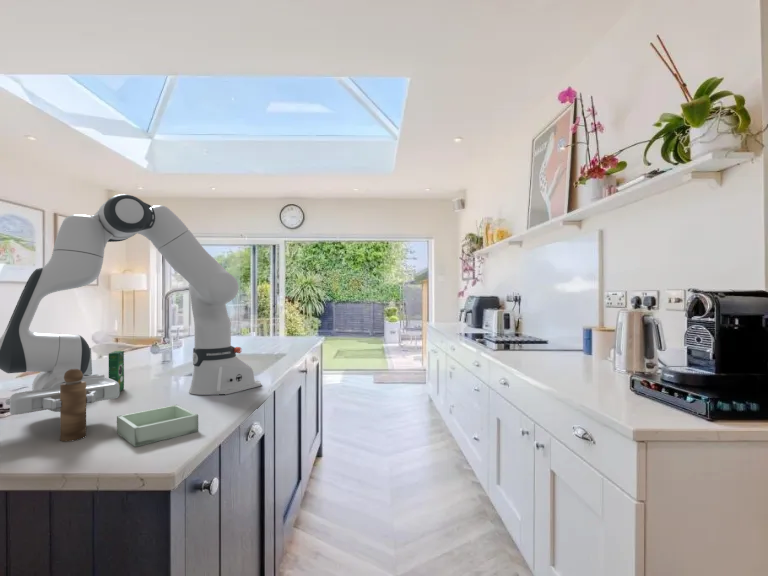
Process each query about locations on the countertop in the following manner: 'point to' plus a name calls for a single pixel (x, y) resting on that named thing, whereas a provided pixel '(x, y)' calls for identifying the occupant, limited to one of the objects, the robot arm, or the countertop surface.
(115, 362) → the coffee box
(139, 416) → the bin
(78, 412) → the mill
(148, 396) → the countertop surface
